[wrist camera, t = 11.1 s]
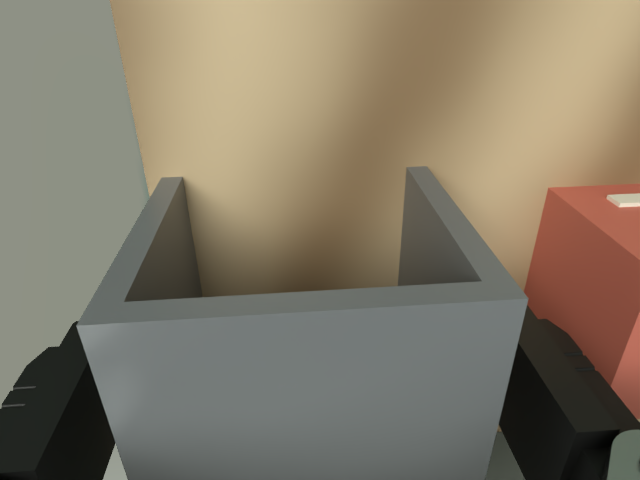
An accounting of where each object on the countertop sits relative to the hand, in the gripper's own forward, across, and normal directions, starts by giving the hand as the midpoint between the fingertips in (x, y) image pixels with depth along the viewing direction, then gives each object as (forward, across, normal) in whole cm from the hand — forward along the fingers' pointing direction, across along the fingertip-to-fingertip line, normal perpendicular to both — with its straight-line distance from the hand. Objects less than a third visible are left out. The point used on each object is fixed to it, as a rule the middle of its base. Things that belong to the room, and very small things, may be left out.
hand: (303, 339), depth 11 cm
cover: (+3, 0, 0) cm, 3 cm away
